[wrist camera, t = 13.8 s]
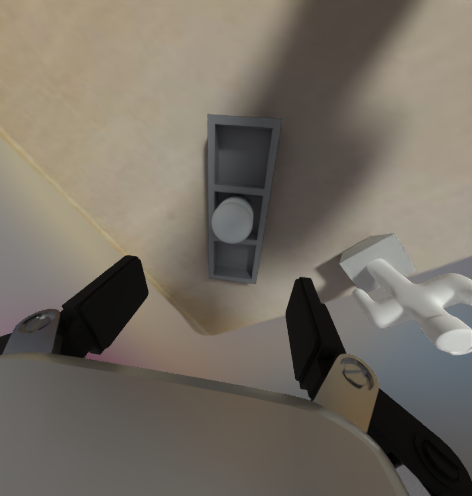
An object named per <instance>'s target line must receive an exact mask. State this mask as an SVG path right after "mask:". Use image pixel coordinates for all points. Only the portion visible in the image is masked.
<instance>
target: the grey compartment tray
mask: <svg viewBox="0 0 472 496" xmlns="http://www.w3.org/2000/svg"><path fill="white" fill-rule="evenodd" d="M207 118H208V247H209V278H211V279H219V280H227V281H235V282H243V283H251V284H256V280H257V274H258V268H259V261H260V255H261V249H262V242H263V236H264V230H265V224H266V217H267V211H268V205H269V198H270V192H271V186H272V179H273V173H274V167H275V161H276V154H277V148H278V142H279V135H280V129H281V123H282V119H274V118H258V117H243V116H227V115H212V114H207ZM232 194H241V195H244V196H246V197H247V198H248V199H249V200H250V201H251V202H252V204H253V208H254V217H253V227H252V230H251V232H250V234H249V236H248V237H247V238H246V239H245V240H243V241H241V242H239V243H234V244H230V243H225V242H223V241H221V240H220V239H219V238H218V237H217V236H216V235H215V234H214V232H213V229H212V225H211V220H212V216H213V213H214V212H215V210H216V209H217V207H218V206H219V205H220V204H221V202H222V201H223V200H224V199H225V198H226V197H227V196H229V195H232Z"/></svg>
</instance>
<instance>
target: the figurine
mask: <svg viewBox="0 0 472 496" xmlns="http://www.w3.org/2000/svg"><path fill="white" fill-rule="evenodd" d="M339 264H340V266H341V267H342V268H343V270H344V271H345V272H346V274H347V275H348V276H349V278H350V279H351V280H352V282H353V283H354V284H355V285H356V287H357V288H358V289H355V290H354V291H353V292H352V295H353V297H354V299H355V301H356V302H357V304H358V305H359V307H360V308H361V310H362V311H363V313H364V314H365V315H366V317H367V318H368V319H369V321H370V322H371V323H372V324H373V325H375V326H376V327H378V328H382V329H385V328H390V327H392V326H395V325H398V324H401V323H404V322H407V321H410V320H413V321H415V322H416V323H417V324H418V325H419V326H420V327H421V328H422V332H423V333H424V334H425V335H426V336H427V338H428V339H429V340H430V341H431V342H432V343H433V344H434V345H435V346H436V347H437V348H438V349H440V350H442V351H446V352H448V353H449V354H451V355H461V354H466V353H470V352H472V329H471V328H470V327H468V326H467V325H466V324H464V323H463V322H462V321H461V320H459V319H458V318H456V317H454V316H451V315H450V314H449V313H447V312H446V311H445V310H444V309H445V308H446V307H449V306H452V305H455V304H458V303H465V304H468V305H471V306H472V280H471V279H469V278H467V277H465V276H462V275H460V274H455V273H447V274H443V275H440V276H438V277H435V278H433V279H431V280H428V281H426V282H423V283H421V284H413V283H411V282H410V281H409V280H408V279H406V278H405V277H404V276H406V275H408V274H410V273H413V272H415V271H416V269H415V268H414V266H413V264H412V262H411V261H410V259H409V257H408V255H407V254H406V252H405V250H404V249H403V247H402V245H401V243H400V242H399V240H398V238H397V236H396V235H395V233H393V234H385V235H377V236H371V237H369V238H367V239H365V240H363V241H362V242H360V243H358V244H356V245H355V246H353V247H351V248H349V249H347V250H346V251H344V252H343V253H342V256H341V259H340V262H339ZM381 286H382V287H383V288H384V289H385V290H386V291H387V292H388V293H389V294H390V297H387V298H385V299H383V300H380V301H377V302H375V301H373V300H372V299H371V298H370V297H369V296H368V294H367V293H368V292H370V291H372V290H374V289H377V288H379V287H381Z"/></svg>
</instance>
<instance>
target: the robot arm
mask: <svg viewBox="0 0 472 496" xmlns="http://www.w3.org/2000/svg"><path fill="white" fill-rule="evenodd" d="M147 296H148V288H147V284H146V280H145V276H144V272H143V268H142V264H141V260H140V259H139V258H138V257H137V256H130V255H126V256H124V257H123V258H122V259H121V260H119V261H118V262H117V263H115V264H114V265H113V266H112V267H110V268H109V269H108V270H107V271H105V272H104V273H103V274H102V275H100V276H99V277H98V278H96V279H95V280H94V281H93V282H91V283H90V284H89V285H87V286H86V287H85V288H84V289H82V290H81V291H80V292H79V293H77V294H76V295H75V296H74V297H72V298H71V299H70V300H68V301H67V302H66V303H64V304H63V305H62V307H63V309H64V310H62V311H61V312H60V311H59V310H57V309H46V310H42V311H39V312H36V313H34V314H32V315H30V316H28V317H26V318H25V319H23V320H22V321H21V322H19V323H18V324H17V325H16V327H15V328H14V330H13V332H12V333H10V334H7V335H4V336H1V337H0V496H472V481H471V479H470V476H469V474H468V472H467V470H466V468H465V467H464V465H463V464H462V462H461V461H460V459H459V458H458V457H457V455H456V454H455V453H454V452H453V451H452V449H450V447H449V446H448V445H447V444H445V443H444V442H443V441H442V440H441V439H440V438H439V437H438V436H436V435H435V434H434V433H433V432H431V431H430V430H429V429H428V428H427V427H426V426H424V425H423V424H422V423H421V422H420V421H418V420H417V419H416V418H415V417H413V416H412V415H411V414H410V413H408V412H407V411H406V410H405V409H404V408H403V407H401V406H400V405H399V404H398V403H396V402H395V401H394V400H393V399H392V398H390V397H389V396H388V395H387V394H386V393H384V392H383V391H382V390H381V389H380V388H379V383H378V380H377V377H376V375H375V374H374V372H373V370H372V369H371V368H370V367H369V366H368V365H367V364H366V363H365V362H364V361H362V360H361V359H359V358H358V357H356V356H354V355H351V354H346V351H345V349H344V347H343V345H342V342H341V340H340V337H339V335H338V333H337V330H336V328H335V326H334V323H333V321H332V318H331V316H330V314H329V311H328V309H327V307H326V305H325V304H323V303H321V302H320V300H319V297H318V295H317V292H316V290H315V287H314V285H313V282H312V280H311V278H305V277H300V278H299V279H296V280H295V283H294V286H293V290H292V293H291V296H290V299H289V303H288V306H287V309H286V322H287V329H288V335H289V342H290V348H291V355H292V361H293V368H294V374H295V379H296V380H297V381H299V383H300V388H301V389H305V390H307V391H308V395H309V397H310V398H311V400H310V401H309V400H306V399H303V398H299V397H295V396H291V395H287V394H283V393H278V392H273V391H268V390H263V389H258V388H253V387H247V386H242V385H235V384H230V383H225V382H219V381H214V380H208V379H202V378H197V377H191V376H185V375H180V374H174V373H168V372H162V371H156V370H151V369H145V368H139V367H133V366H127V365H121V364H115V363H109V362H103V361H97V360H91V359H86V355H87V353H88V352H89V351H90V353H94V354H101V353H102V352H103V351H104V349H106V348H108V347H109V346H110V345H111V344H112V342H113V341H114V340H115V338H116V337H117V336H118V335H119V333H120V332H121V331H122V329H123V328H124V327H125V325H126V324H127V323H128V321H129V320H130V319H131V318H132V316H133V315H134V314H135V312H136V311H137V310H138V308H139V307H140V306H141V305H142V303H143V302H144V300H145V299H146V298H147Z"/></svg>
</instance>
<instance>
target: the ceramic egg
mask: <svg viewBox="0 0 472 496" xmlns="http://www.w3.org/2000/svg"><path fill="white" fill-rule="evenodd" d="M253 217H254V208H253V204H252V202H251V201H250V200H249V199H248V198H247V197H246V196H244V195H241V194H232V195H229V196H227V197H226V198H225V199H224V200H223V201H222V202H221V204H220V205H219V206H218V207H217V209H216V210H215V212H214V213H213V216H212V220H211V225H212V229H213V232H214V234H215V235H216V236H217V237H218V238H219V239H220V240H221V241H223V242H225V243H230V244H234V243H239V242H241V241H243V240H245V239H246V238H247V237H248V236H249V234H250V232H251V230H252V227H253Z"/></svg>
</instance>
